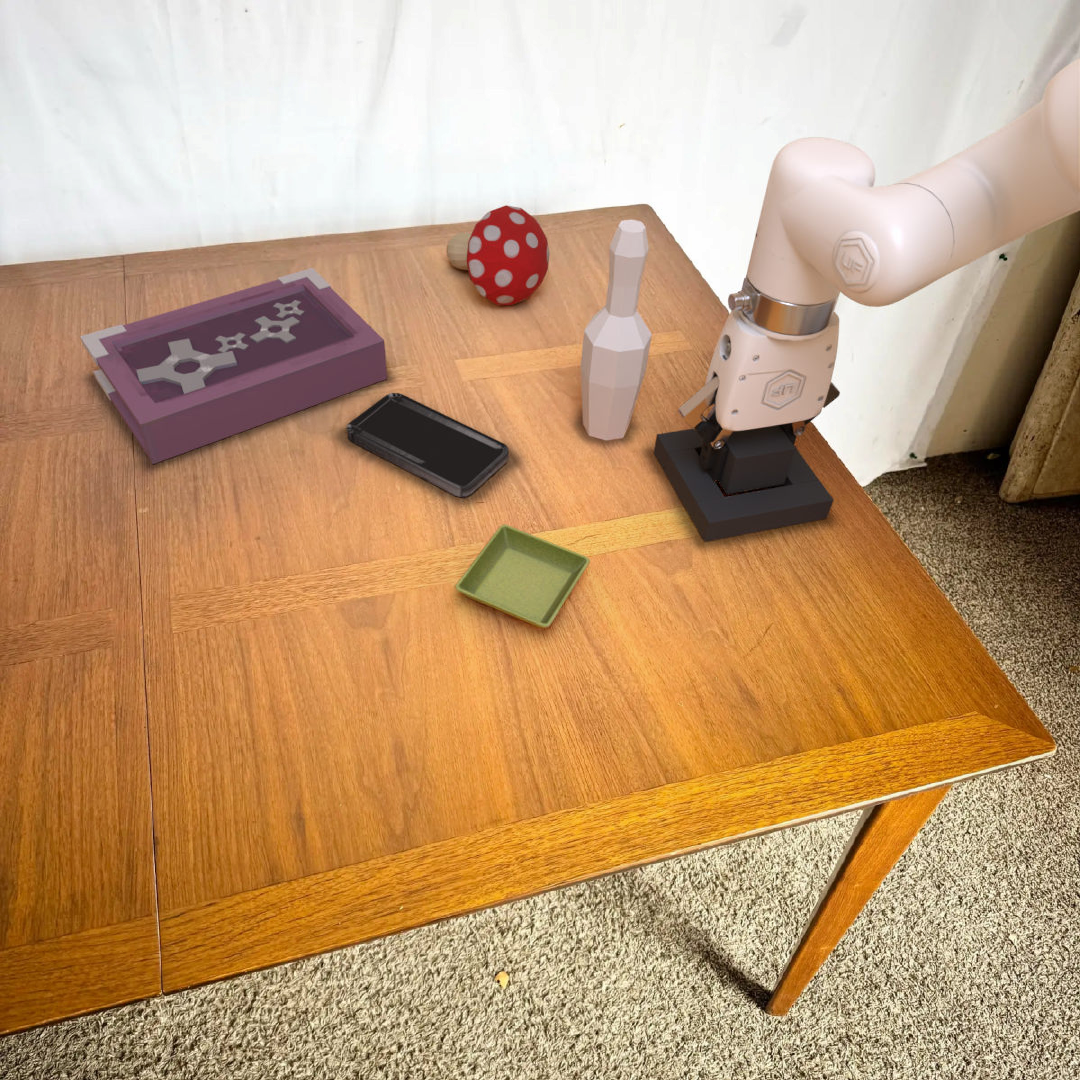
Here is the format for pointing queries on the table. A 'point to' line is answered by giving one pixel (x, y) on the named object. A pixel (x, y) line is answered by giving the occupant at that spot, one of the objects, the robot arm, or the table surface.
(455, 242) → the decorative mushroom
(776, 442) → the black square block
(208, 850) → the table surface
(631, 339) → the faceted bottle
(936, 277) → the robot arm
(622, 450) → the table surface
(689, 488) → the frame pad
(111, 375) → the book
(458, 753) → the table surface
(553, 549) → the green square tray
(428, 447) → the phone
